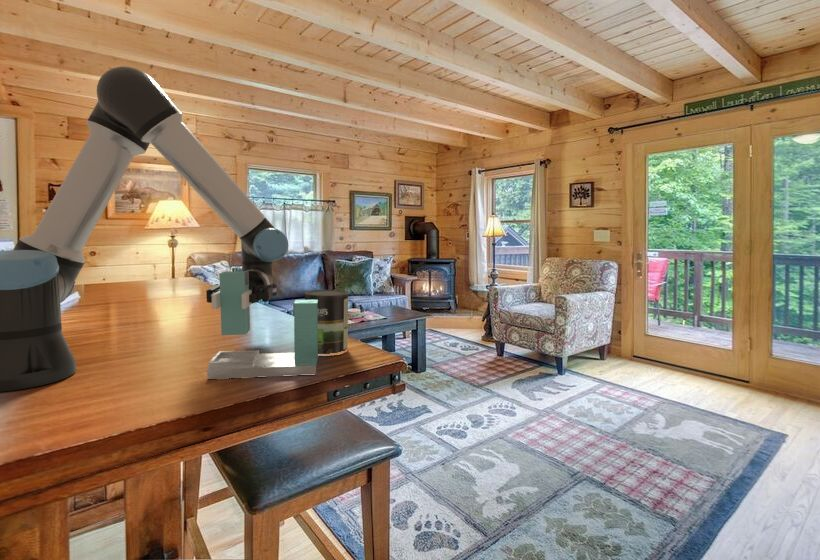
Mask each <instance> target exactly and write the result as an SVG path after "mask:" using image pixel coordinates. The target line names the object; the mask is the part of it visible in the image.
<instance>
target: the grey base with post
mask: <svg viewBox="0 0 820 560" xmlns="http://www.w3.org/2000/svg"><path fill="white" fill-rule="evenodd" d="M292 304H293V305H292V307H293V309H292V311H293V314H292V315H293V326H294V329H293V330H294V334H293V335H294V337H293V338H294V340H293V341H294V347H293V348H294V352H271V353H269V352H268V353H260V350H259V349H258V350H254V349H253V350H226V351H225V350H222V351H221V350H219V351H217V353H215V355H214V356H213V357H212V358H211V359H210V361H208V364H207V365H208V366H207V367H208V368H206V376H207V377H206V379H217V380H232V379H231V378H242V377H258V376H283V375H301V374H316V375H317V368H316V366H318V361H319V360H318V359H319V356H318V300H305V299H295V300H294V301H293V303H292ZM229 378H230V379H229ZM242 379H243V378H242Z"/></svg>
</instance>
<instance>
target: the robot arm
mask: <svg viewBox="0 0 820 560" xmlns="http://www.w3.org/2000/svg"><path fill="white" fill-rule="evenodd" d="M96 96H97V101H96V102H97V103H96V104H95V106H94V108H93V109H92V111H91V113H90V115H89V117H88V118H87V120H86V126H87V127H88V130H89V135H88V137H87V139H86V140H85V143H84V144H83V146H82V147H81V149H80V151H79V153H78V155H77V156H76V158H75V160H74V162H73V163H72V165H71V167H70V168H69V170H68V172H67V174H66V176H65V178H64V180H63V181H62V182H61V184H60V185H59V188H58V190H57V192H56V194H55V195H54V197H53V199H52V200H51V202H50V204H49V206H48V207H47V209H46V211H45V213H44V214H43V216H42V218H40V219H41V220H40V221H39V223H38V225H37V226H36V229H35V230H34V232H33V233H31V234H29V235H24V236H21V237H19V239H18V241H17V242H16V244H15V245H14V248H12V250H11V249H9V250H0V392H10V391H18V390H19V391H20V390H25V389H30V388H36V387H40V386H46V385H48V384H49V385H50V384H53V383H55V382H59V381H62V380H64V379H67V378H68V377H71V376H73V375H74V374H75V373H76V371H77V363H76V358H75V356H74V355H73V353H72V350H71V348H70V346H69V344H68V341H66V337H65V336H64V334H63V326H62V313H61V312H62V311H61V304H62V303H63V302H65V300H66V299H67V298H68V297H69V296H70V295H71V294H72V292H73V291H74V289H75V284H76V280H77V278H78V277H79V274H80V272H81V271H82V269H83V266H84V265H85V263H86V259H85V257H84V255H83V249H84V247H85V246H86V244H87V242H88V241H89V238H90V237H91V235H92V233H93V231H94V229H95V227H96V226H97V223H98V222H99V221H100V218H101V217H102V215H103V214H104V211H105V210H106V207H107V206H108V204H109V203H110V200H111V199H112V196H113V194H114V193H115V191H116V189H117V188H118V186H119V184H120V182H121V181H122V178H124V177H123V176H124V175H125V174H126V171H127V170H128V167H129V166H130V164H131V162H132V160H133V158H134V157H135V156H138V155H143V154H145V153H146V151H147V150H148V148H149V146H150V145H152V146H153V147H154V148H155V149H156V150H157V152H159V154H160V155H161V156H162V157H164V159H165V160H166V161H167V162H168V163H169V164H170V165H171V167H173V168H174V170H175V171H176V172H177V173H178V174H179V175H180V176H181V177H182V178H183V179H184V180H185V181H186V182H187V183H188V185H189V186H190V187H192V189H193V190H194V191H195V192H196V193H197V195H198V196H200V197H201V199H202V200H203V201H204V202H205V203H206V204H207V205H208V206H209V207H210V208H211V209H212V211H214V212H215V214H216V215H218V216H219V218H220V219H221V220H222V221H223V222H224V223H225V224H226V225H227V226H228V228H230V230H231V231H233V233H234V234H235V235H237V237H238V238H239V239H240V244H241V271H248V274H249V290H247V291H246V292H244V293H243V294H241V297H242V309H246V308H247V307H248V306H249V307H250V306H251V305H252V304H256V303H259V302H260V301H262V302H263V303H267V302H269V301H270V300H271V299H272V298H273V297H275V296H277V295H278V292H277V284H276V283H275V275H274V273H273V266H274V265H273V262H276V261H279V260H281V259H283V258H284V257H285V256H286V255H287V253H288V250H289V240H288V237H287V236H286V234H285V233H284V232H283V231H281V230H279V229H278V228H275V227H274V225H273V223H272V222H270V221H269V220H268V219H267V218H266V215H264V214H263V212H262V211H261V210H260V209H259V208H258V207H257V206H256V204H255V203H254V202H253V201H252V200H251V199H250V198H249V197H248V196H247V194H246V192H244V190H242V189H241V187H240V186H239V185H238V184H237V182H236V181H235V180H234V179H233V178H232V177H231V176H230V175H229V173H228V172H226V171H227V170H225V169H224V168H223V167H222V166H221V165H220V163H219V162H218V161H217V160H216V159H215V158H214V156H213V155H212V154H211V153H210V151H208V149H207V148H206V147H205V146H204V144H203V143H201V141H200V140H199V139H198V138H197V136H195V134H193V132H192V131H191V130H190V129H189V128H188V126H187V125H186V124H185V123H184V122H183V113H182V112H181V111H180V109H179V108H178V107H177V106H176V105H175V104H174V103H173V101H172V100H171V99H170V98H169V96H168V94H166V93H165V91H164V90H163V88H161V87H160V85H159V84H158V82H156V80H154V78H152V77H151V76H150V75H149V74H147V73H146V72H144V71H143V70H140V69H138V68H135V67H130V66H118V67H113V68H111V69H108V70H106V71H105V72H104V73H103V74H102V75H101V76H100V78H99V79H98V82H97V85H96ZM205 294H206V303H210V304H211V309H212V310H218V309H219V308H221V303H220V284H219V283H216V284H213V286H212V287H210V288H207V289H206V290H205Z"/></svg>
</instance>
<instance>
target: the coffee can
mask: <svg viewBox="0 0 820 560" xmlns="http://www.w3.org/2000/svg"><path fill="white" fill-rule="evenodd" d="M349 293H350V292H348V291H345V290H341V289H340V290H339V289H314V290H307V291H305V292H304V293H303V295H304V300H318V354H330V353H338V352H341V351H345V350H346V349H347V348H348V345H349V343H348V340H349V338H348V335H349V332H348V331H349V330H348V329H349ZM348 349H349V348H348Z"/></svg>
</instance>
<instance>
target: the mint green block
mask: <svg viewBox="0 0 820 560" xmlns="http://www.w3.org/2000/svg"><path fill="white" fill-rule="evenodd" d="M219 285H220V303H221V306H220V327H221V329H220V330H221V333H220V334H221V336H236V335H239V336H240V335H241V336H242V335H247V334H248V333H249V331H250V330H251V315H250V313H251V311H250V305H249V306H248V307H247V308H246V309H242V297H241V294H243V293H244V292H246V291H247V290H249V274H248V271H242V270H241V271H239V270H238V271H237V270H236V271H228V270H227V271H226V270H225V271H223V272H220V273H219Z"/></svg>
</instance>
